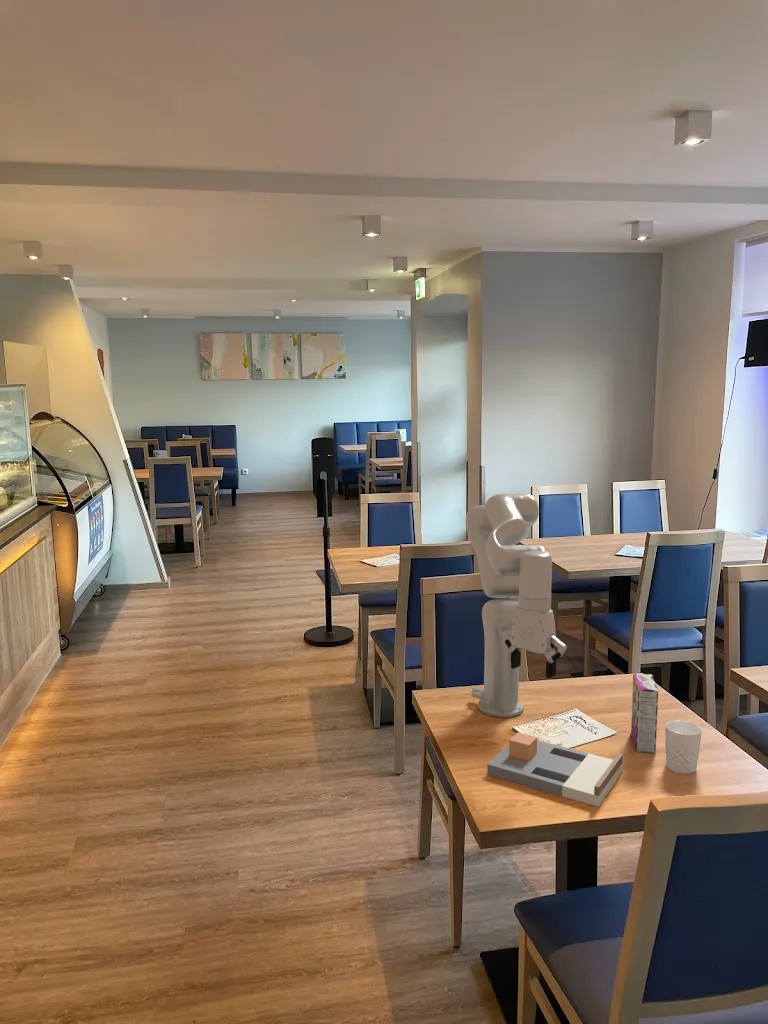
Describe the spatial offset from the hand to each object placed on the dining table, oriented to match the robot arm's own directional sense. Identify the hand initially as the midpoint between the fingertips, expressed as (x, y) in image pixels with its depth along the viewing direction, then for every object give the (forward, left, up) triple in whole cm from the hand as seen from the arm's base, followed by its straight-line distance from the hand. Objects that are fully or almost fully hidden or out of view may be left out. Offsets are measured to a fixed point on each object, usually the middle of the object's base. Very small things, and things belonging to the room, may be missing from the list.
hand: (532, 672), depth 181 cm
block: (0, -6, -19) cm, 19 cm away
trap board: (+8, -6, -21) cm, 23 cm away
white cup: (+32, +13, -21) cm, 41 cm away
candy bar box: (+21, +21, -21) cm, 37 cm away
